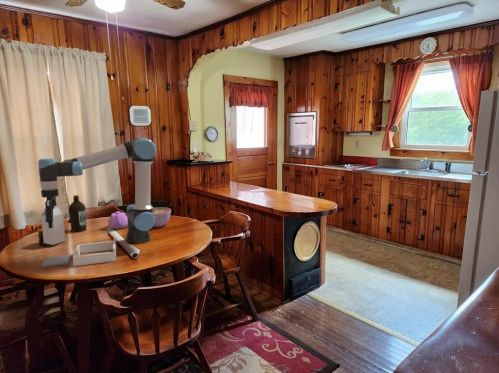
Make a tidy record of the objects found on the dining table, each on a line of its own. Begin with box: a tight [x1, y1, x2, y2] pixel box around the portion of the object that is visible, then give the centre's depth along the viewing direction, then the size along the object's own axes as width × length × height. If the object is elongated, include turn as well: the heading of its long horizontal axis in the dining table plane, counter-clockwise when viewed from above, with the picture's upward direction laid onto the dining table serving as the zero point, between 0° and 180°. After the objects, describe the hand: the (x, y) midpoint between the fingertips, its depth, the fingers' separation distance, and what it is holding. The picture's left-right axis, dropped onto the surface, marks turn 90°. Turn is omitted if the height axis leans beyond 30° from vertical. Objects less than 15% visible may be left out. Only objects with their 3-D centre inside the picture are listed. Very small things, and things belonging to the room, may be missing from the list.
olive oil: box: [68, 194, 88, 233], centre depth 223 cm, size 11×11×25 cm
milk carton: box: [40, 205, 66, 245], centre depth 166 cm, size 7×7×19 cm
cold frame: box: [72, 236, 117, 267], centre depth 176 cm, size 20×20×7 cm
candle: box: [37, 228, 66, 248], centre depth 197 cm, size 10×10×10 cm
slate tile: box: [40, 254, 72, 269], centre depth 170 cm, size 12×12×1 cm
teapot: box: [108, 210, 128, 230], centre depth 231 cm, size 20×13×12 cm, turn 17°
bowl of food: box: [152, 207, 172, 228], centre depth 236 cm, size 20×20×12 cm
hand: (53, 230), depth 167 cm, fingers closed on milk carton, 10 cm apart
